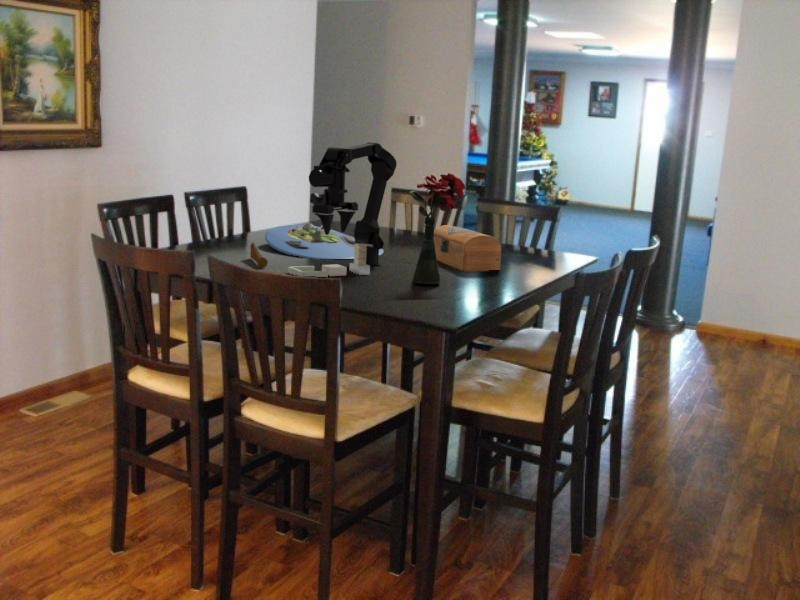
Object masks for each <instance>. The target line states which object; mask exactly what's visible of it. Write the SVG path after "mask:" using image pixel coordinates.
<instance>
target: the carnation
mask: <svg viewBox="0 0 800 600" xmlns="http://www.w3.org/2000/svg"><path fill="white" fill-rule="evenodd" d="M439 176H440V179H438V180H437V178H436V176H435V175H434V174H430V176H429V175H425V176H422V178H421V179H422V180H425V182H426V183H425V182H424V181H422V182H421V183H417V185H416V188H417V189H421V188H424V189H426V192H428V195H429V198H428V199H425V197H424V196H423V195H422V194H421V193H420V192H418V191H416V190H411V191H409V193H408V194H409V195H410V196H411V197H412V199H413V200H415V201H417V202H419V203H421V204H423V205H424V207H423V206H419V208H418V211H419V213H420V215H422V216H424V222H423V223H424V235H423V241H422V246H421V248H420V253H419V255H418V256H419V257H418V259H417V263H416V266H415V267H416V268H415V270H414V273H413V278H412V282H413V284H416V283H417V284H418V283H419V284H420V285H435V286H436V285H437V284H440V283H441V277H440V272H439V264H438V260H437V259H436V251H435V244H434V230H435V224H436V223H435V221H436V220H435V219H436V217H434V216H435V213H436V211H437V209H438V207H439V210H440V211H443V212H446V211H447V212H448V211H452V209H454V207H455V206H456V204H457V198H456V197H455V195H454V194H456V196H458V198H459V199H462V198H463V197H464V190H465V189H466V184H465V183H464V181H463V180H462V179H461V178H460V177H457V176H455V175H454V174H452V173H446V174H439ZM426 205H427V206H429V209H430V211H429V213H428V210H427V207H426ZM434 208H435V209H434ZM433 210H434V211H433ZM430 216H431V217H430Z"/></svg>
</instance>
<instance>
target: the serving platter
mask: <svg viewBox="0 0 800 600" xmlns="http://www.w3.org/2000/svg"><path fill="white" fill-rule="evenodd" d="M264 238H265V239H264V240H265V241H266V243H267V244H268V245H269V246H270V247H271V248H273V249H274V250H276V251H278V252H280V253H283V254H285V255H288V256H291V255H293V256H292V257H295V256H299V257H306V258H305V259H309V258H313V259H312V260H320V259H352V260H354V249H355V238H354V236H351V235H348V234H345V233H343V232H340V231H337V230H334V229H331V228H330V232H329V234H328V235H326V234H325V232H324V228H323V225H322V224H321V225H320V226H318V225H313V224H312V222H309V223H305V224H304V225H299V224H297V225H296V224H294V225H293V224H292V225H281V226H280V225H279V226H275V227H273V228H272V227H271V228H270V229H268V230H267V231H266V232H265V234H264ZM368 245H370V244H368ZM384 252H385V251H384V249H383V248H382V249H379V256H382V255H383V254H384ZM299 257H298V258H299Z"/></svg>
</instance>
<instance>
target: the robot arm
mask: <svg viewBox="0 0 800 600" xmlns="http://www.w3.org/2000/svg"><path fill="white" fill-rule="evenodd" d="M365 157H367V161H368V162H369V163H370V165H371V166H370V172H371V174H372V182H371V184H370V185H371V186H370V190H369V194H368V198H367V203H366V205H365V211H364V215H363V218H361V220H356V222H355V225H354V229H353V237H354V238H355V243H364V244H367V254H366V265H369V266H370V267H381V264H380V263H379V258H380V255H379V249H383V248H384V245H385V242H384V241H383V239H382V238H381V236H380V229H381V227H380V226H379V222H378V221H379V220H378V219H379V216H380V215H379V214H380V211H381V208H382V203H383V199H384V195H385V191H386V188H387V184H388V183H387V182H388V181H390V179H391V178H392V177H393V176H394V173H395V171H396V168H397V165H398V164H397V160H396V158H395V156H393V155H392V153H391V152H390V151H389V150H387V149H385V148H384V147H383V146H382V145H381V144H380V143H379V142H370V141H369V142H365V143H362V144H357V145H353V146H348V147H335V146H328V148H327V149H326V150H325V153H324V155H323V157H322V159H321V160H320V163H319V164H318V165H313V169H312V170H311V171H310V173H309V175H308V181H309V184H310V185H311V186H312V187H314V188H324V190H323V193H321V194H318V192H313V193H310V196H309V203H311V204H313V205H312V207H311V208H312V211H311V213H313V214H314V215H315V216H317V217H318V218H319V219H320V222H321V226H322V225H323V226H322V228H324V232H325V234H326V235H328V234H329V232H330V229H331V228H332V223H333V220H334V216H335V215H334V214H333V213H334V211H336V212H337V214H338V216H339V218H340V221H339V222H340V233H345V232H346V231H347V228H348V226H349V224H350V222H351V220H352V219H353V216H354V215H355V214H356V212H357V211H359V204H358V203H357V201H348V200H345V194H347V193H348V189H347V188H346V173H350V171H351V170H350V169H349V168H348V167H347V165H349V164H351V163H352V161H353V160H357V159H361V158H365ZM368 244H370V245H368Z"/></svg>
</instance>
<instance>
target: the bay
mask: <svg viewBox="0 0 800 600" xmlns="http://www.w3.org/2000/svg"><path fill="white" fill-rule="evenodd" d="M287 273H288V274H290V275H292V274H293V276H295V275H301V276H316V277H326V278H329V277H328V271H322V270H315V265H303V266H302V265H301V266H300V265H299V266H294V265H293V266H288V267H287Z"/></svg>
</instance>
